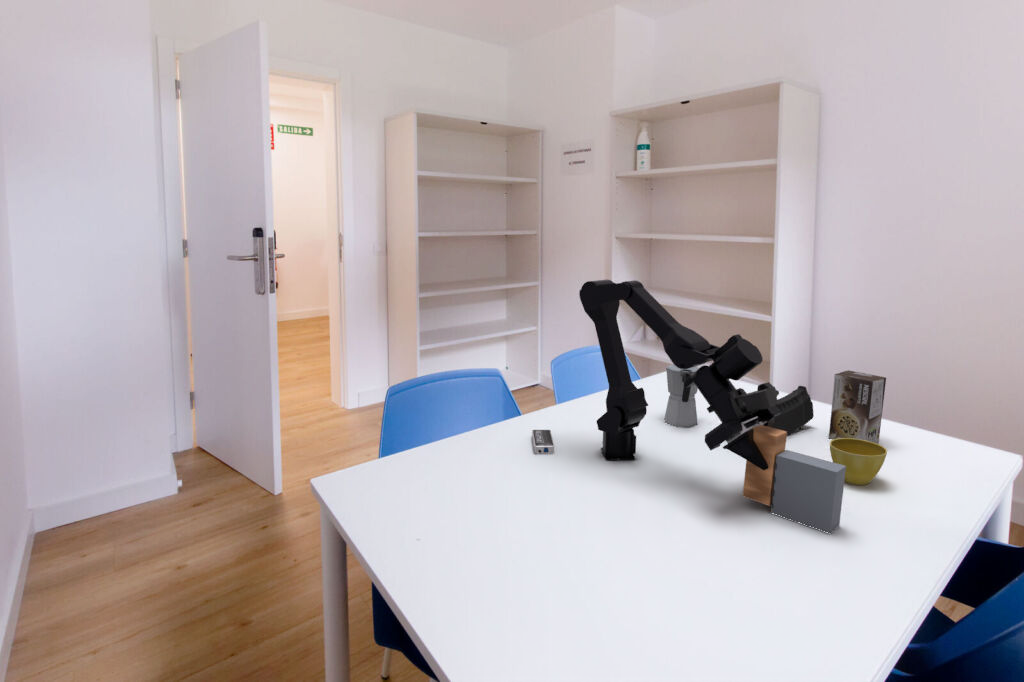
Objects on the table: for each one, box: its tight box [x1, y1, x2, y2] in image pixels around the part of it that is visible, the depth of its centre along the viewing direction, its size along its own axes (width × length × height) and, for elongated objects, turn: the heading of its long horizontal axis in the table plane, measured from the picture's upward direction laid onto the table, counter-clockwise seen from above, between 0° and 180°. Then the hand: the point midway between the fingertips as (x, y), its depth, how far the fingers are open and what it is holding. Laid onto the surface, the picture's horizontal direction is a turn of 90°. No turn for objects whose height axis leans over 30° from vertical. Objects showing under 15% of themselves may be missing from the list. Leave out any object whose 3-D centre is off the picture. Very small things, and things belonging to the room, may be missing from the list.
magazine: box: [771, 385, 814, 436], centre depth 149 cm, size 17×3×30 cm
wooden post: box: [742, 425, 788, 506], centre depth 113 cm, size 5×4×13 cm
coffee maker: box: [663, 363, 700, 429], centre depth 159 cm, size 15×9×18 cm, turn 172°
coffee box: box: [828, 370, 887, 445], centre depth 147 cm, size 9×6×16 cm
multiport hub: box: [531, 429, 555, 455], centre depth 144 cm, size 4×11×2 cm, turn 1°
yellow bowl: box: [829, 438, 888, 486], centre depth 126 cm, size 10×10×7 cm
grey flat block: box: [770, 449, 846, 534], centre depth 108 cm, size 10×4×11 cm, turn 43°
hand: (772, 465), depth 112 cm, fingers closed on wooden post, 4 cm apart
